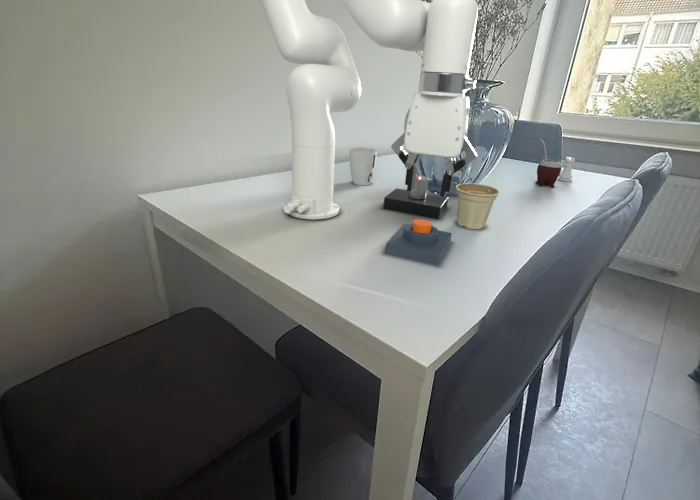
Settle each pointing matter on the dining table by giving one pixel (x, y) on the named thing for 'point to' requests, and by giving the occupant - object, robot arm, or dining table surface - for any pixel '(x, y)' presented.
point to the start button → (422, 226)
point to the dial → (419, 188)
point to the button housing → (419, 244)
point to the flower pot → (474, 204)
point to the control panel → (416, 204)
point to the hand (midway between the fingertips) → (427, 191)
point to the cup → (362, 164)
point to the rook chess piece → (567, 170)
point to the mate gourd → (548, 170)
